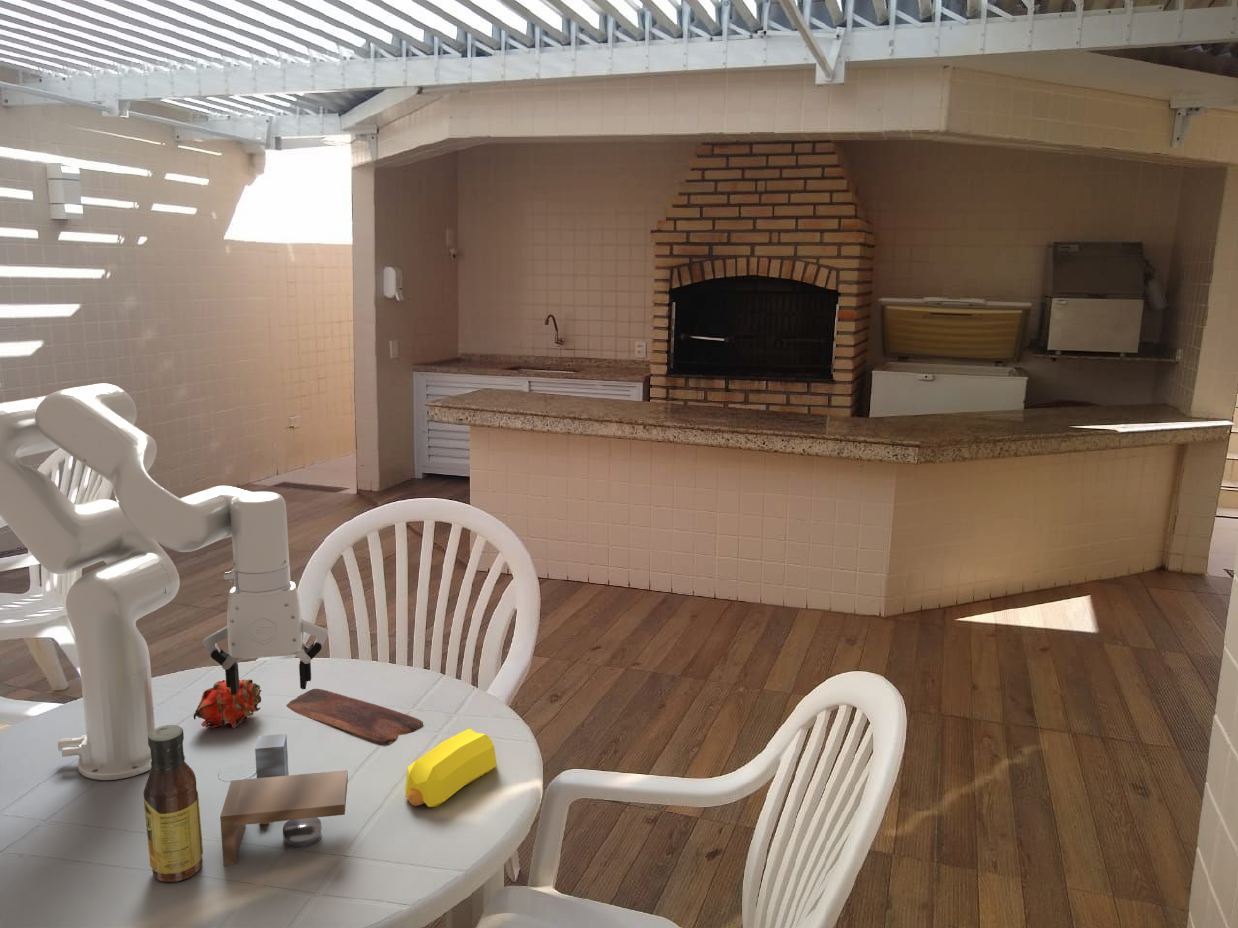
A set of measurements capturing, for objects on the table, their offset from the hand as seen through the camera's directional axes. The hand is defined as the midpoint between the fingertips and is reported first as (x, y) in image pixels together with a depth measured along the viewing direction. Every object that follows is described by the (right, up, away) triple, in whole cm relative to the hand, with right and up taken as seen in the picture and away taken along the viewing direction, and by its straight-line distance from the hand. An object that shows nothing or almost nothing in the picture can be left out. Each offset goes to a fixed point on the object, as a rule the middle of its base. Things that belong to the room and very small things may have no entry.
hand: (269, 688), depth 143 cm
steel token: (+8, -18, -10) cm, 22 cm away
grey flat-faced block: (0, -16, -1) cm, 16 cm away
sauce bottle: (-5, -20, -18) cm, 27 cm away
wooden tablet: (+5, -11, +26) cm, 29 cm away
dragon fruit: (-15, -11, +21) cm, 28 cm away
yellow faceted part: (+26, -16, +5) cm, 31 cm away
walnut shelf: (+7, -18, -10) cm, 22 cm away
